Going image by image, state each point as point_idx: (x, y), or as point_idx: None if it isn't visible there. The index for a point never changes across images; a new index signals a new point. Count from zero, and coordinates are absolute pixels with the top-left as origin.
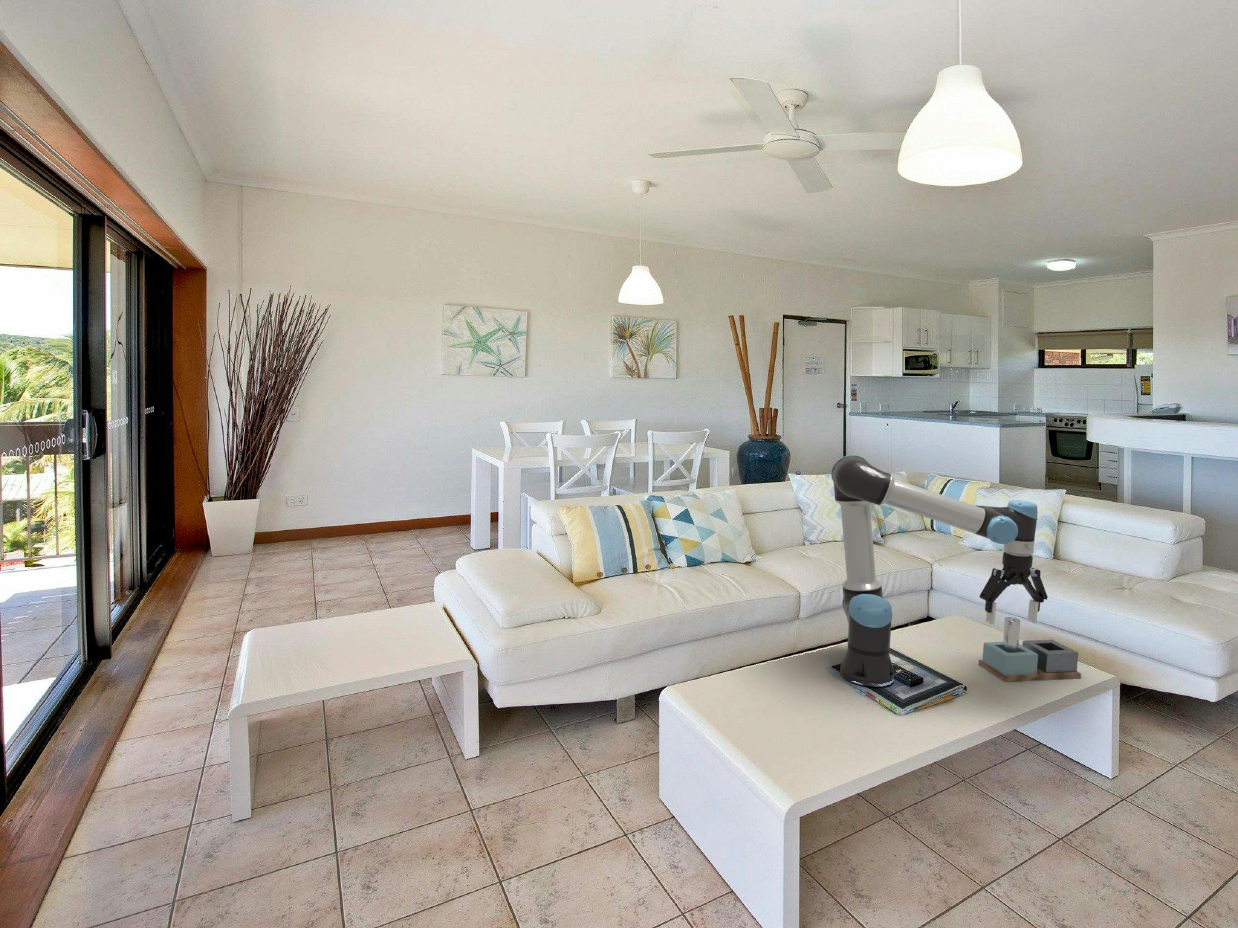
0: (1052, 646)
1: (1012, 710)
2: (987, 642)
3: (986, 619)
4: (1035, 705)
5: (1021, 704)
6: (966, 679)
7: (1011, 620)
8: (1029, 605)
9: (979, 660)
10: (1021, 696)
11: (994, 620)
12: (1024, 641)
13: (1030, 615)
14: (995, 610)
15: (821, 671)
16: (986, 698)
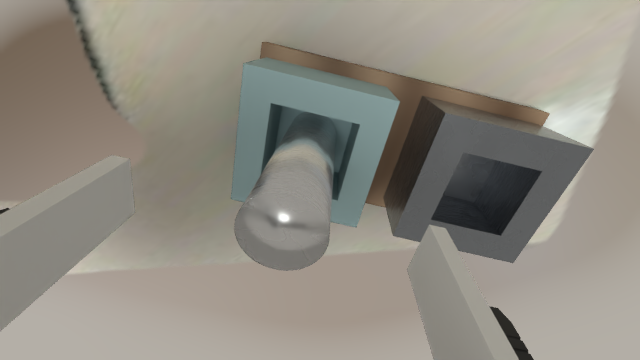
0: (528, 172)
1: (162, 258)
2: (261, 69)
3: (102, 165)
4: (227, 261)
5: (200, 250)
6: (152, 116)
7: (258, 242)
8: (471, 324)
9: (261, 47)
10: (230, 228)
11: (116, 227)
12: (444, 121)
13: (433, 271)
14: (50, 285)
15: None
16: (139, 209)
